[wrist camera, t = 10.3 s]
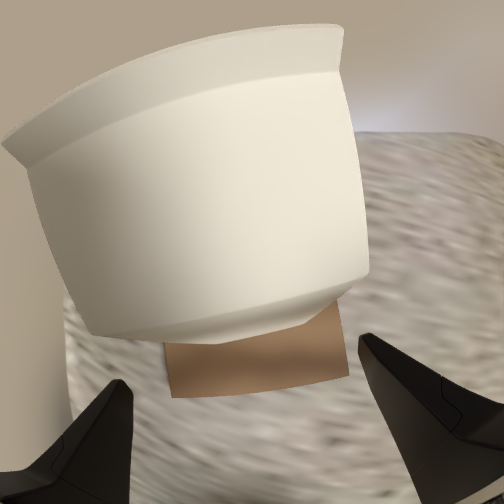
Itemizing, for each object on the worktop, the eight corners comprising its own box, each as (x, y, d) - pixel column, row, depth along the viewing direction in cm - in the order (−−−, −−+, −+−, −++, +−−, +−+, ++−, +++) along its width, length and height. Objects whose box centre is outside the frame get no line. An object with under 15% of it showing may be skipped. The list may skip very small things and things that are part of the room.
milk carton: (305, 323, 20) (472, 182, 2) (214, 344, 20) (-37, 310, 2) (282, 239, 22) (282, -15, 5) (198, 259, 22) (46, 62, 5)
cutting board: (344, 373, 20) (349, 375, 18) (178, 395, 20) (171, 398, 19) (308, 198, 25) (310, 190, 24) (164, 223, 26) (158, 216, 24)
